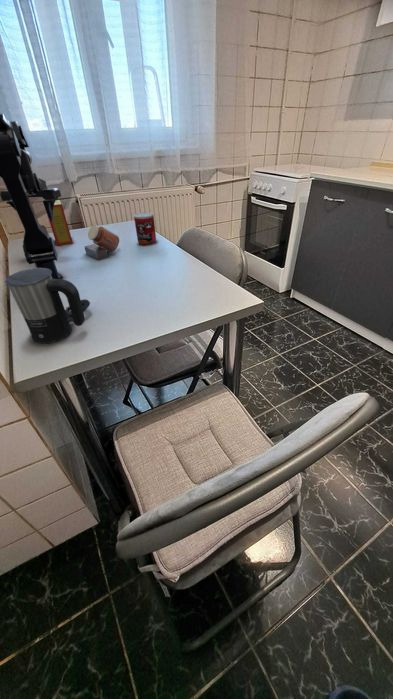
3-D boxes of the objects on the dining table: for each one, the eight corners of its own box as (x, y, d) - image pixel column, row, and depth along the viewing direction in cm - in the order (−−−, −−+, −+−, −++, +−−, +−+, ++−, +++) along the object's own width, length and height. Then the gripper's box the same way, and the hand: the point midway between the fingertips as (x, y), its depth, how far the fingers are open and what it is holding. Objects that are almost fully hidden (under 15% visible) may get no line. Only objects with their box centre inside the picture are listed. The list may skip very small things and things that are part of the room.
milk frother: (27, 347, 67) (-2, 287, 58) (38, 314, 79) (15, 260, 70) (92, 336, 69) (74, 277, 60) (92, 305, 82) (77, 252, 73)
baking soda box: (73, 243, 128) (61, 203, 118) (57, 246, 125) (44, 205, 116) (70, 237, 134) (59, 199, 125) (55, 240, 132) (42, 201, 123)
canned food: (135, 245, 123) (130, 216, 116) (143, 239, 129) (139, 212, 122) (151, 246, 121) (148, 217, 114) (159, 240, 127) (156, 212, 120)
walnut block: (108, 257, 112) (106, 249, 110) (98, 260, 110) (96, 252, 108) (95, 251, 118) (93, 243, 116) (86, 254, 116) (84, 246, 114)
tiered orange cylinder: (126, 251, 116) (120, 222, 110) (100, 259, 110) (92, 229, 104) (115, 246, 121) (109, 218, 115) (90, 254, 115) (82, 225, 109)
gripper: (60, 166, 101) (74, 215, 110) (9, 168, 102) (27, 216, 112) (45, 170, 92) (60, 223, 101) (-11, 172, 93) (10, 224, 103)
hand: (39, 221), depth 105 cm, fingers open, 9 cm apart
